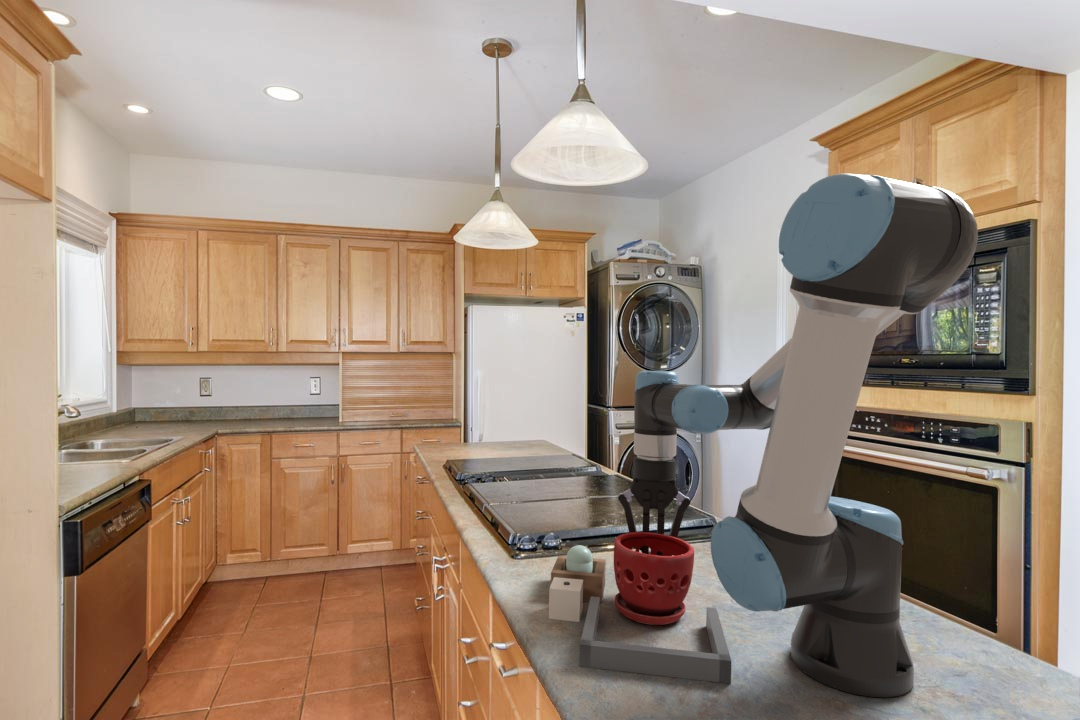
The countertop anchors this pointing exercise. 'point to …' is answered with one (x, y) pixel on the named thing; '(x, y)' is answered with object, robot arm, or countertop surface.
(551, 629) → the countertop surface
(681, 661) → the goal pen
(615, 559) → the plant pot
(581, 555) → the dome button
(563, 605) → the cream cube with hole
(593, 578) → the button box
